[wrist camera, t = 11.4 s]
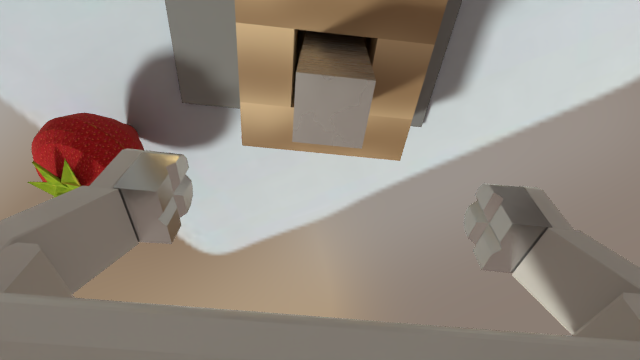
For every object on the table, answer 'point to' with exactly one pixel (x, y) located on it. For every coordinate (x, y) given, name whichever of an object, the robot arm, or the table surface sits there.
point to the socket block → (339, 18)
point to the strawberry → (78, 150)
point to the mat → (222, 60)
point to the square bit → (332, 90)
